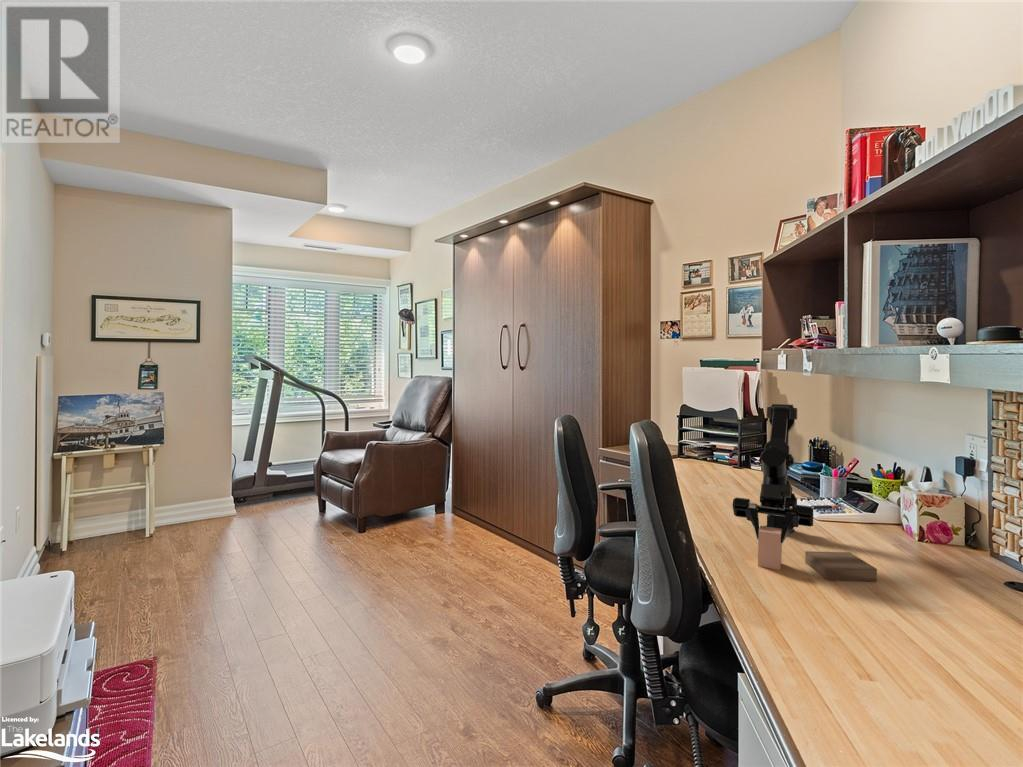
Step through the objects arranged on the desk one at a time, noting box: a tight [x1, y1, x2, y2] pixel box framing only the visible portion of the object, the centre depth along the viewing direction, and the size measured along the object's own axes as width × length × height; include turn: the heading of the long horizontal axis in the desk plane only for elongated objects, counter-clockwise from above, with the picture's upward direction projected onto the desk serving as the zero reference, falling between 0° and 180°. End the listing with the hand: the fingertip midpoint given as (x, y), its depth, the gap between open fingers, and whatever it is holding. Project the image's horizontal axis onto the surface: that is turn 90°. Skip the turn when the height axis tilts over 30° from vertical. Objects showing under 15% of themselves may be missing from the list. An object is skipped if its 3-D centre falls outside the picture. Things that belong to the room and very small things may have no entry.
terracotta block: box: [757, 525, 783, 571], centre depth 134 cm, size 5×5×9 cm
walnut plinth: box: [804, 550, 878, 582], centre depth 130 cm, size 11×11×3 cm
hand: (769, 540), depth 133 cm, fingers closed on terracotta block, 5 cm apart
